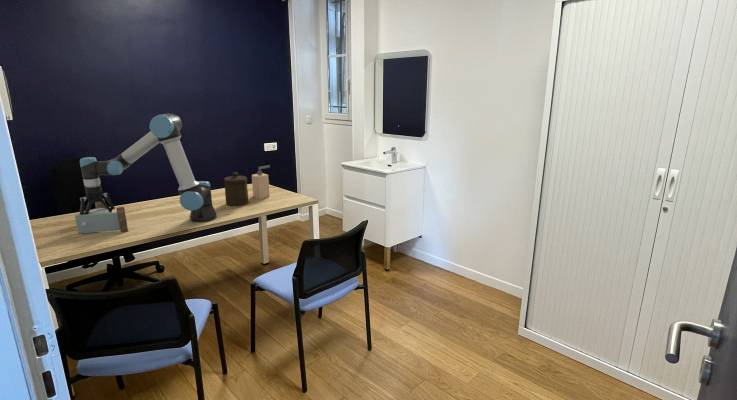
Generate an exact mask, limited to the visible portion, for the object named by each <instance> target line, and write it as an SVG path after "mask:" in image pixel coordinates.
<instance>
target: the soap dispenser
mask: <svg viewBox="0 0 737 400" xmlns="http://www.w3.org/2000/svg"><path fill="white" fill-rule="evenodd" d="M270 168H271V165H263V166H258V171H257V173H255V174H251V183H252V185H251V186H252V197H254V198H256V199H259V200H261V199H264V197H265V198H269V197H270V196H271V195H270V181H269V174H266V173H263V171H262V170H264V169H270ZM268 196H269V197H268ZM260 198H261V199H260Z"/></svg>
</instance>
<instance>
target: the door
mask: <svg viewBox="0 0 737 400" xmlns="http://www.w3.org/2000/svg"><path fill="white" fill-rule="evenodd" d="M74 218H75V223H76V224H75V225H76V227H77V228H76V229H77V233H78V234H87V233H90V234H91V233H101V232H102V233H103V232H112V231H113V232H116V231H120V226H119V220H118V214H117V211H116V212H114V211H113V212H112V213H98V214H83V215H80V214H75V215H74Z"/></svg>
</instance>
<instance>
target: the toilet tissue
mask: <svg viewBox="0 0 737 400" xmlns="http://www.w3.org/2000/svg"><path fill="white" fill-rule="evenodd" d="M98 213H108V209H107V208H98V209H96V208H93V209H90V211H89V213H88V214H98Z"/></svg>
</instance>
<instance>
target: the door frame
mask: <svg viewBox="0 0 737 400" xmlns="http://www.w3.org/2000/svg"><path fill="white" fill-rule="evenodd" d="M102 199H103V201H104V202H105V203H106V198H102ZM94 204H95V205H94V206H95V209H98V208H106V207H105V206H104V205H103V204H102V203H101V202H95V203H94ZM116 212H117V214H118V220H119V226H120V230H119V232H120V233H121V234H124V233H128V232H129V228H128V222H127V216H126V209H125V207H124V206H119V207H116Z"/></svg>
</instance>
